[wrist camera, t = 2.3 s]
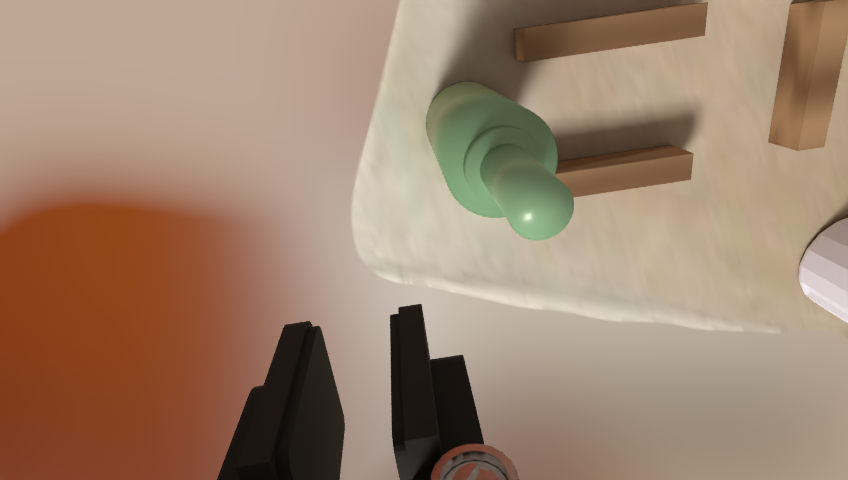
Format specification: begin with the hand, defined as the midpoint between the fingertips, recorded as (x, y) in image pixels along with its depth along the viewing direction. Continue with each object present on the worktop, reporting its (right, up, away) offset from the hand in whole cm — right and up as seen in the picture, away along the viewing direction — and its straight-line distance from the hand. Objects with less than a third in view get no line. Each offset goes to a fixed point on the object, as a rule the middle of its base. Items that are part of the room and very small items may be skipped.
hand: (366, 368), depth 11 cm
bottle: (+5, +12, +25) cm, 28 cm away
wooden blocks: (+19, +14, +25) cm, 35 cm away
